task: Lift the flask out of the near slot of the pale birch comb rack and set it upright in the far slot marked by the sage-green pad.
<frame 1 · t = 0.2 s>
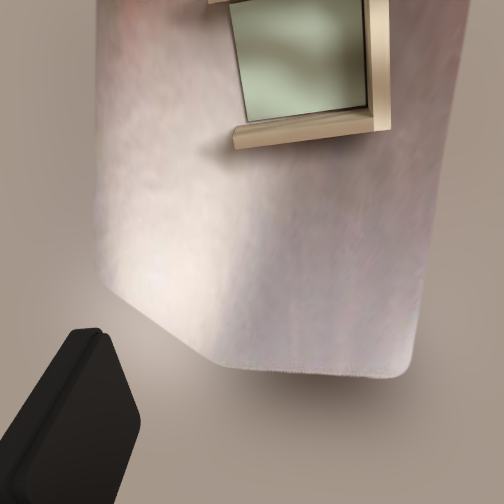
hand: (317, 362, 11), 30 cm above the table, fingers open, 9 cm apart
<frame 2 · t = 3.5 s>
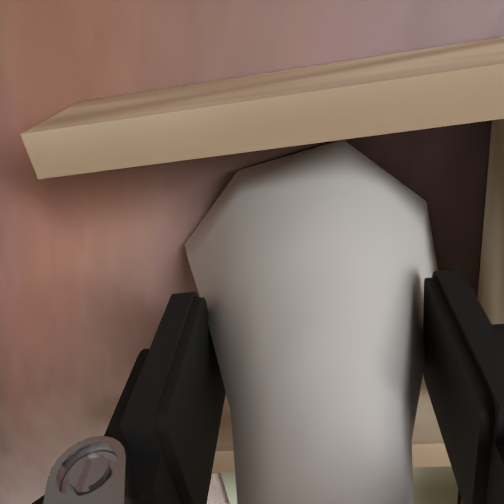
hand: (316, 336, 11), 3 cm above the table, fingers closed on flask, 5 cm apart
comb rack: (326, 384, 17), on the table
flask: (312, 257, 15), on the table, touching gripper
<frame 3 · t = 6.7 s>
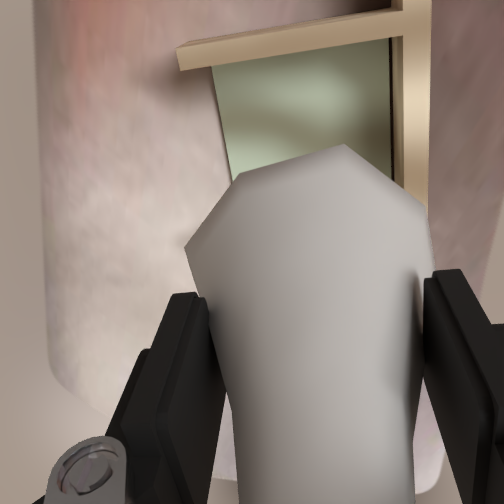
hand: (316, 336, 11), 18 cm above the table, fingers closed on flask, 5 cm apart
comb rack: (295, 34, 25), on the table
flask: (311, 261, 15), point 14 cm above the table, touching gripper
when the fingers open (5 cm above the table, at t = 9.7 s): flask stays where it is, resting on comb rack.
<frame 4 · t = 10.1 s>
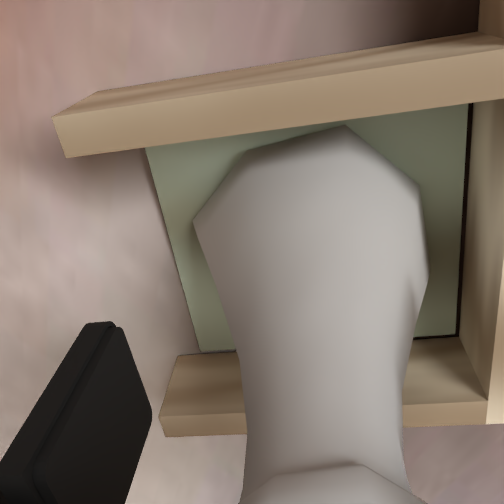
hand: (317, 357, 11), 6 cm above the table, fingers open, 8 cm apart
comb rack: (293, 80, 13), on the table
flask: (311, 237, 16), resting on comb rack
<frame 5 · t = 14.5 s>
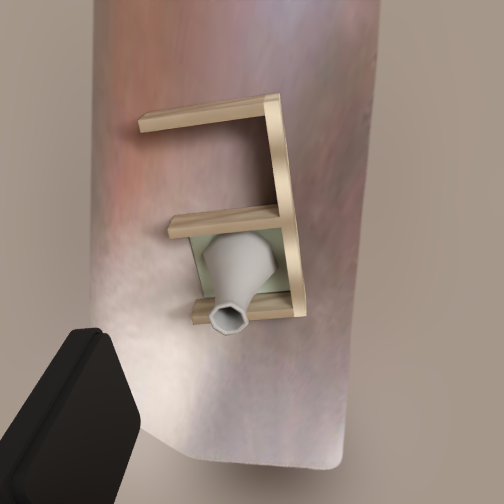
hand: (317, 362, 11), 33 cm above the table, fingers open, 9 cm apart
comb rack: (231, 213, 46), on the table
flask: (240, 257, 48), resting on comb rack
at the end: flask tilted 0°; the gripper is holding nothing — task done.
